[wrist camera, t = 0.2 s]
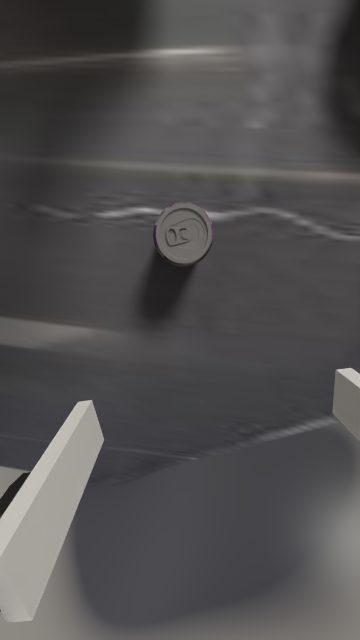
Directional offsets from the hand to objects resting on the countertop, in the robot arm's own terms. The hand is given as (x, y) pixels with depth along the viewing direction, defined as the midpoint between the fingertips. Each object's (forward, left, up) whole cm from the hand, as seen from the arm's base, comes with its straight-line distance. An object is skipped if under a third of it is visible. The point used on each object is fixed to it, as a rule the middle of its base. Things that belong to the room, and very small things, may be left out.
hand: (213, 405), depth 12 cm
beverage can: (-10, 0, -28) cm, 30 cm away
